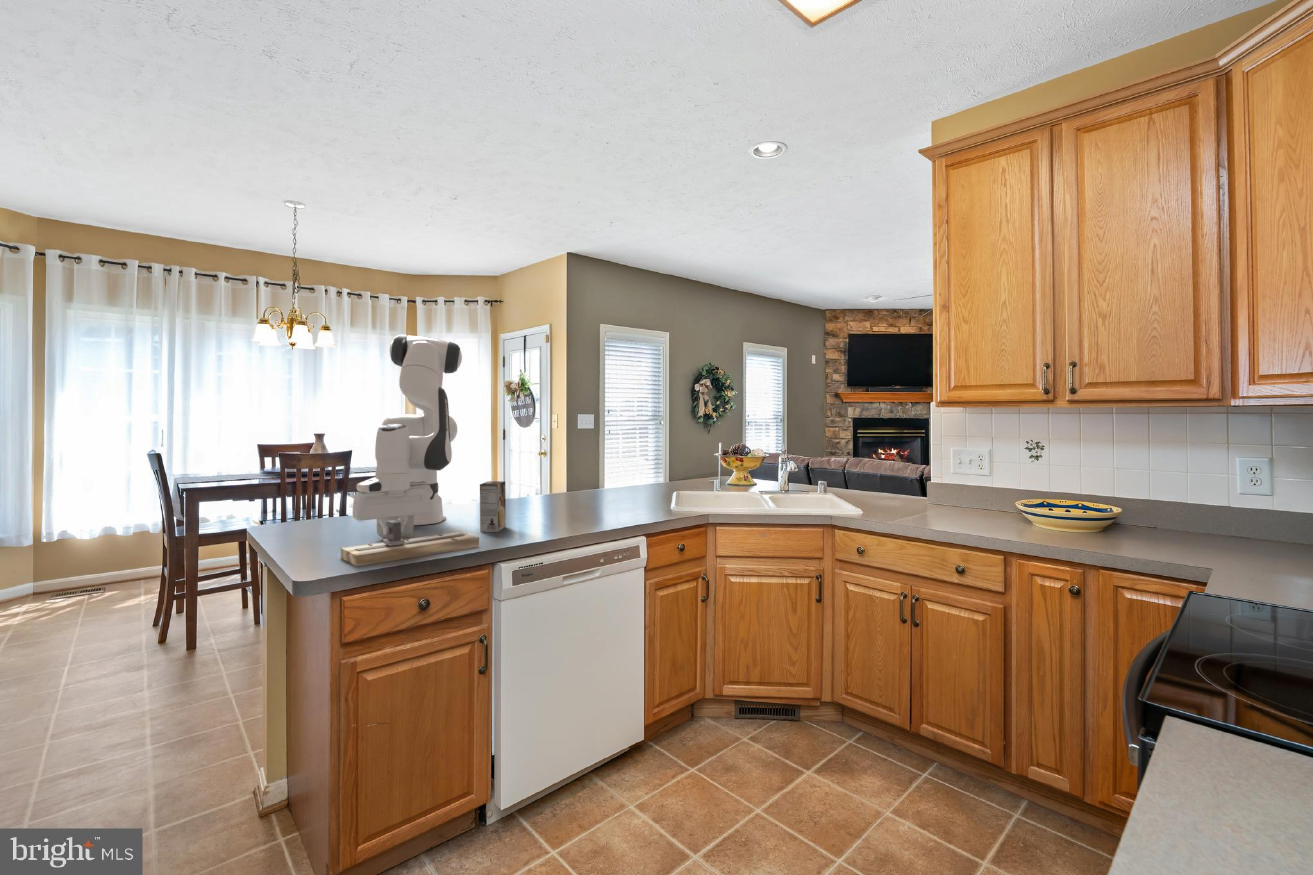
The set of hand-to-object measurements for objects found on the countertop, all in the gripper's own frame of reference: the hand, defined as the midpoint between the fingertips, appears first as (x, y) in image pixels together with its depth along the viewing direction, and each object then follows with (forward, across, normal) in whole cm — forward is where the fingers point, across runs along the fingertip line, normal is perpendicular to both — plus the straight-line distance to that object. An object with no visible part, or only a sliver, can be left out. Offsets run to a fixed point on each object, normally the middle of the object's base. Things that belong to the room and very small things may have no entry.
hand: (393, 533), depth 166 cm
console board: (+6, -5, 0) cm, 8 cm away
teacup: (+6, -8, -20) cm, 23 cm away
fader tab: (+3, 0, 0) cm, 3 cm away
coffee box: (+6, -39, -16) cm, 43 cm away
